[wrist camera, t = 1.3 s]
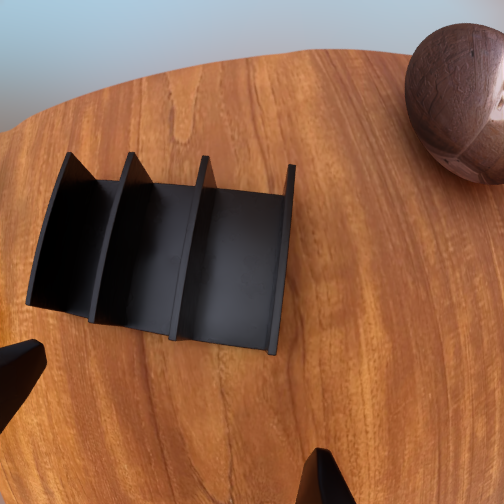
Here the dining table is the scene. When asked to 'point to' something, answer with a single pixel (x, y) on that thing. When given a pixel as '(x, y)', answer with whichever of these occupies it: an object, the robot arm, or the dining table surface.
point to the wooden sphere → (460, 100)
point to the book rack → (165, 255)
